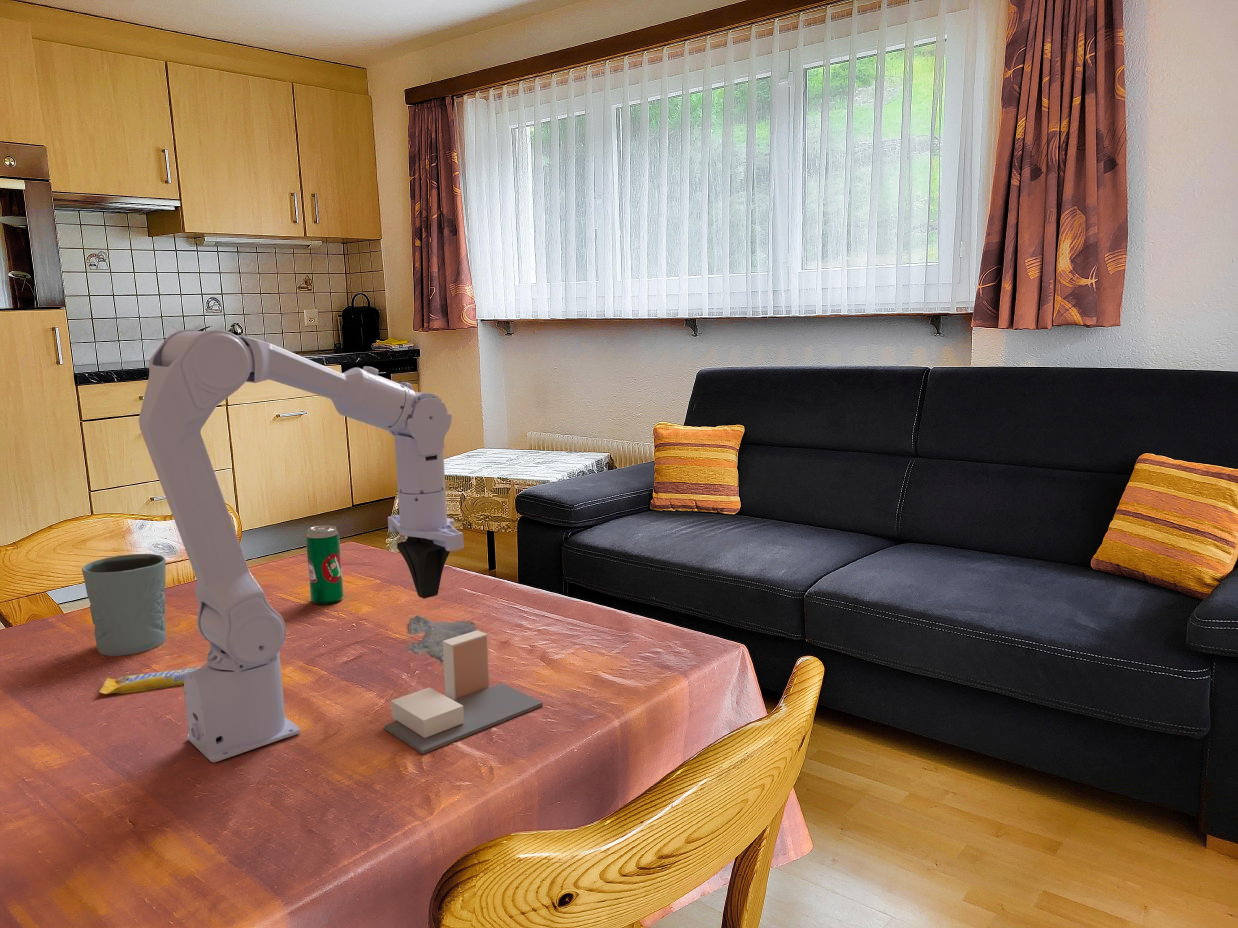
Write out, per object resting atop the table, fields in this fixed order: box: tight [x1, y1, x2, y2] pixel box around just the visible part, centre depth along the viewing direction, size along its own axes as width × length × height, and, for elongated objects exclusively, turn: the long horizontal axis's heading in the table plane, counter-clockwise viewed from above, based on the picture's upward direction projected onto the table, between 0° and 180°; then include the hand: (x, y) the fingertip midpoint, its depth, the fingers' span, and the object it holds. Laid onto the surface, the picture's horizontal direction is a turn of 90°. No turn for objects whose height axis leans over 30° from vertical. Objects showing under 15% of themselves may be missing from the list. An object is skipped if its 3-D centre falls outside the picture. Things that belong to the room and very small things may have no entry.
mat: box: [383, 682, 544, 755], centre depth 100 cm, size 16×8×1 cm, turn 134°
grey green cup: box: [81, 553, 167, 657], centre depth 124 cm, size 10×10×12 cm
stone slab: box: [405, 615, 476, 666], centre depth 124 cm, size 18×2×10 cm
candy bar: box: [98, 666, 201, 695], centre depth 112 cm, size 17×4×2 cm, turn 110°
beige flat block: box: [390, 687, 464, 738], centre depth 99 cm, size 5×2×7 cm
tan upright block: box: [443, 629, 491, 700], centre depth 106 cm, size 5×2×7 cm, turn 134°
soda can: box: [305, 524, 344, 606], centre depth 142 cm, size 5×5×12 cm
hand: (428, 595), depth 111 cm, fingers closed
